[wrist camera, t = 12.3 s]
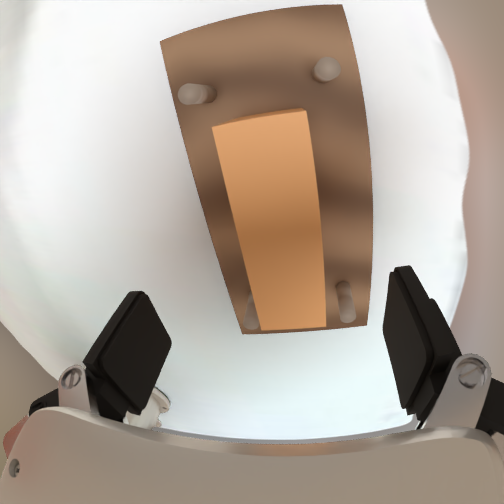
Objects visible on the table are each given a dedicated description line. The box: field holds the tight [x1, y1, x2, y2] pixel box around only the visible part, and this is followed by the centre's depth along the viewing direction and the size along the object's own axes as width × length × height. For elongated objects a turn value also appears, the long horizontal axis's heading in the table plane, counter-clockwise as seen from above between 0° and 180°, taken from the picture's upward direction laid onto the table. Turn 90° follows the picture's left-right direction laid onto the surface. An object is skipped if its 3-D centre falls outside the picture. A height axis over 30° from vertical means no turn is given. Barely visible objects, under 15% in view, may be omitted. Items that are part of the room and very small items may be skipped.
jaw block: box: [212, 108, 326, 330], centre depth 16 cm, size 4×12×6 cm, turn 11°
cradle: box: [160, 5, 373, 334], centre depth 17 cm, size 26×12×5 cm, turn 11°
